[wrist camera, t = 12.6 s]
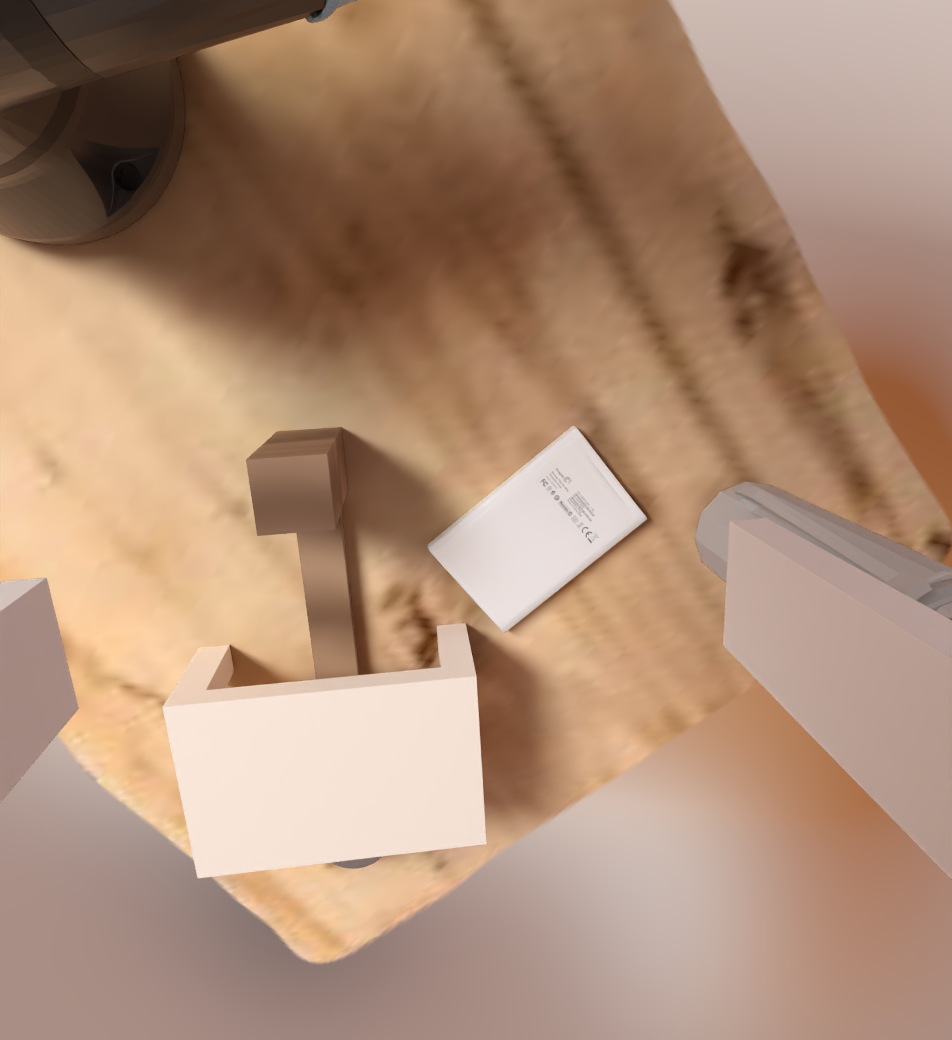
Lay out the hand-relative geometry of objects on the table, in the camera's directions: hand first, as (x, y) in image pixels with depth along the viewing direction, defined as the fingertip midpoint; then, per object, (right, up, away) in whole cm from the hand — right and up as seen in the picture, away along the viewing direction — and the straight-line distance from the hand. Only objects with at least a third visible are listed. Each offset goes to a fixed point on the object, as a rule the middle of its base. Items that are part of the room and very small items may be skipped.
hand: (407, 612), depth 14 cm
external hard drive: (+5, +1, +34) cm, 35 cm away
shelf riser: (-8, -12, +36) cm, 38 cm away
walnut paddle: (-9, -2, +33) cm, 34 cm away
